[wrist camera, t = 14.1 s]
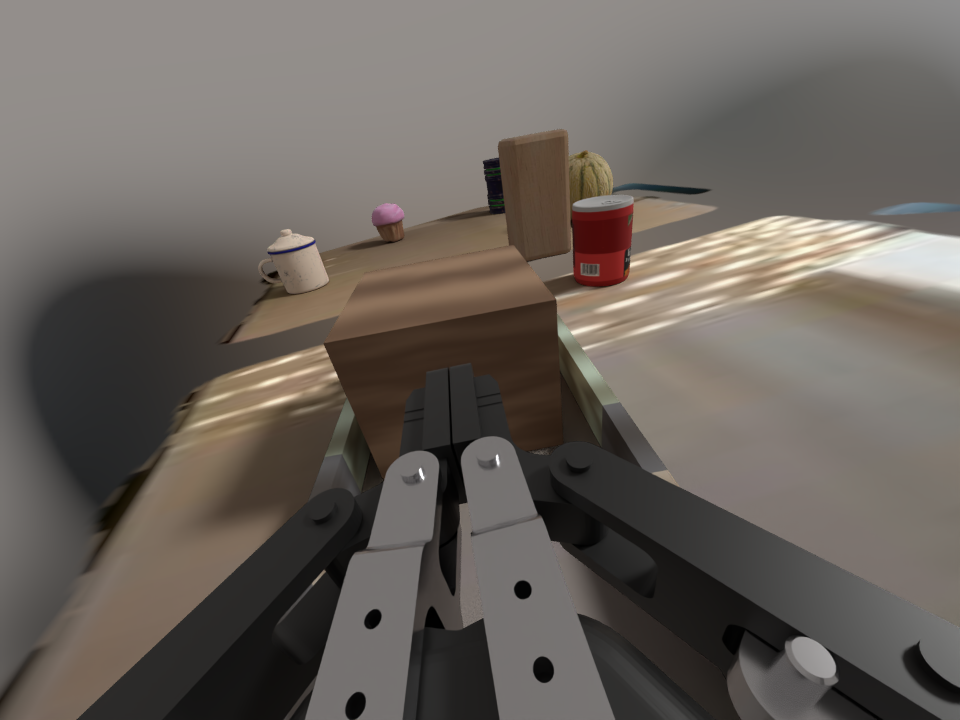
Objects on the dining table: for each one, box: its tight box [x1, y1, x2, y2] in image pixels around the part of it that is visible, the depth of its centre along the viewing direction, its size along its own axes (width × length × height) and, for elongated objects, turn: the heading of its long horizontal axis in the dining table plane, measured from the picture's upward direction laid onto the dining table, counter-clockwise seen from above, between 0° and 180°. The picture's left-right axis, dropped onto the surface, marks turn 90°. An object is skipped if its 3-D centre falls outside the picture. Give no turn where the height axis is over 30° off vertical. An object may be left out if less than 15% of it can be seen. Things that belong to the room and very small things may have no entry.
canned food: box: [572, 195, 634, 287], centre depth 52 cm, size 8×8×11 cm
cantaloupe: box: [569, 150, 613, 220], centre depth 86 cm, size 15×15×15 cm
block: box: [498, 129, 571, 262], centre depth 66 cm, size 10×10×20 cm
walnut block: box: [324, 245, 563, 479], centre depth 30 cm, size 14×14×12 cm
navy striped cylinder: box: [483, 158, 505, 214], centre depth 113 cm, size 10×10×15 cm
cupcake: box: [372, 203, 404, 242], centre depth 101 cm, size 9×9×10 cm
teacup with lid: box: [258, 229, 329, 294], centre depth 73 cm, size 12×9×12 cm
